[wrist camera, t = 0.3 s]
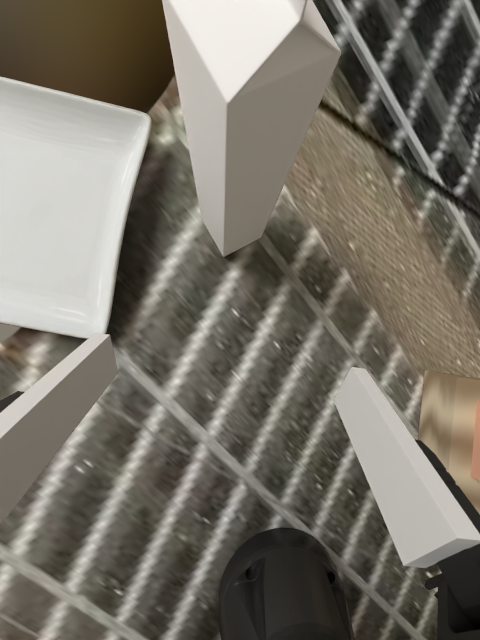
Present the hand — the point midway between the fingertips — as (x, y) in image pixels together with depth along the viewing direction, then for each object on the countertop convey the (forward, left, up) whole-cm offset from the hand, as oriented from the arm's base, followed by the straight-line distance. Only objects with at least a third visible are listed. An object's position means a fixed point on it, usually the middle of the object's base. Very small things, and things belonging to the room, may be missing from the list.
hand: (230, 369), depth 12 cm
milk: (+16, +2, -16) cm, 22 cm away
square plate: (+13, +27, -16) cm, 34 cm away
